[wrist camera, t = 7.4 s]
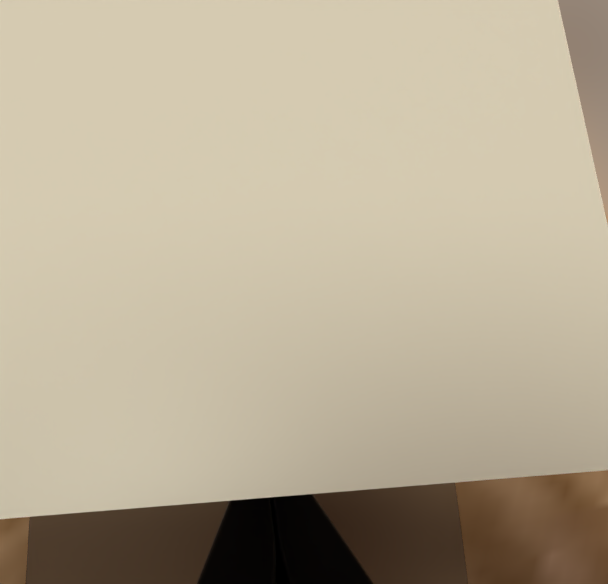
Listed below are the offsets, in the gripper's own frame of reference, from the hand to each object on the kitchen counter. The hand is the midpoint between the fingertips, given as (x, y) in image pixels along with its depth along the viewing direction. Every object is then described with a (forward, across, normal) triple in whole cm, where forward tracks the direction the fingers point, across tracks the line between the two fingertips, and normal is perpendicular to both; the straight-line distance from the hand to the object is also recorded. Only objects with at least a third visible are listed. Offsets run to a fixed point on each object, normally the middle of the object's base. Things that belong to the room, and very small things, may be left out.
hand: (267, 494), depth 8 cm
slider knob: (+5, 0, +2) cm, 6 cm away
